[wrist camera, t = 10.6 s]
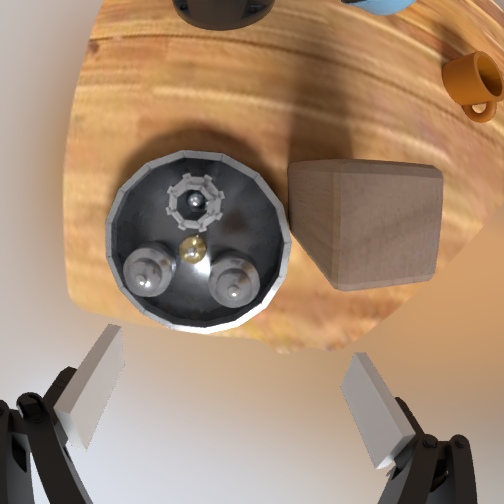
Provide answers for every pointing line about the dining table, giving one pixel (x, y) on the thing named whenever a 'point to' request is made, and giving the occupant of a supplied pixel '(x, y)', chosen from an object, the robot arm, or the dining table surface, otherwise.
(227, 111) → the dining table surface
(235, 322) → the carrier
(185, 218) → the gear
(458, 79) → the mug
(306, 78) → the dining table surface
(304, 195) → the wooden block
